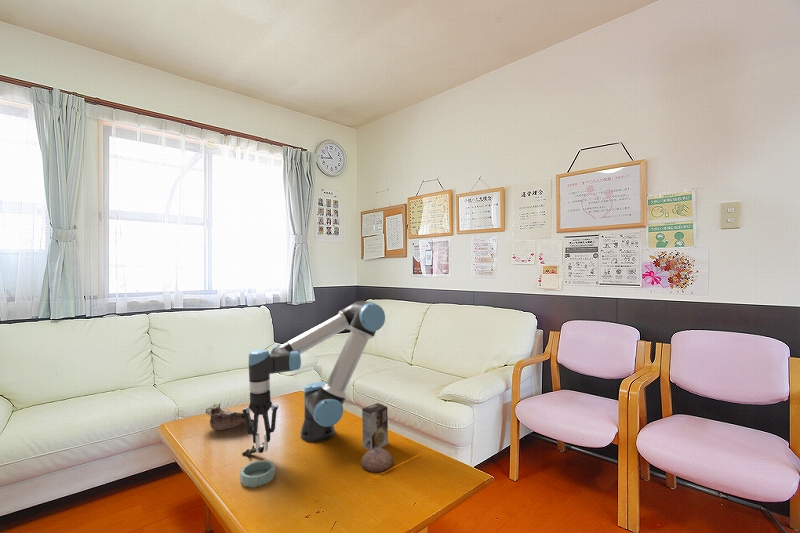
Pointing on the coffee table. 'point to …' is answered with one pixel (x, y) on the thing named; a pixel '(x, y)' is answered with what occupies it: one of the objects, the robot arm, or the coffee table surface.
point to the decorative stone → (377, 460)
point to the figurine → (254, 450)
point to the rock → (224, 418)
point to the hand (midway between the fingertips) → (262, 450)
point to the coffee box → (375, 426)
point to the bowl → (257, 473)
